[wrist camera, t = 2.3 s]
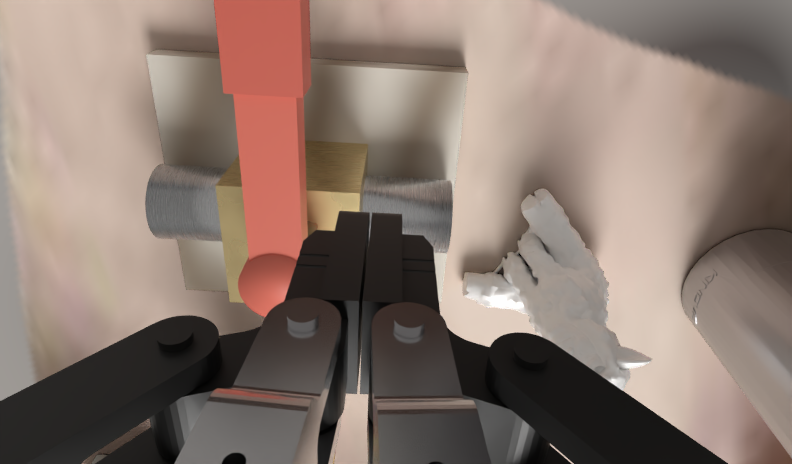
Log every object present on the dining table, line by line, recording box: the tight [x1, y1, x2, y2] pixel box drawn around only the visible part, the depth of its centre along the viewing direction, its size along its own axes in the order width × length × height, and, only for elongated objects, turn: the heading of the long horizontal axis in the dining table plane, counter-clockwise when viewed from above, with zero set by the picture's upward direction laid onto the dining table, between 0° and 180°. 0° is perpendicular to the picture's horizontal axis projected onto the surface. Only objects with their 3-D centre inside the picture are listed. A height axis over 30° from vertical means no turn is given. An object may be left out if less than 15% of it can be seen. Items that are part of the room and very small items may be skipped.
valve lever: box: [214, 0, 311, 317], centre depth 23 cm, size 15×4×3 cm, turn 177°
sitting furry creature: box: [462, 189, 652, 390], centre depth 32 cm, size 10×9×12 cm
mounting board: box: [146, 49, 468, 303], centre depth 34 cm, size 18×16×2 cm
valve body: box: [146, 140, 453, 303], centre depth 31 cm, size 17×7×7 cm, turn 87°
